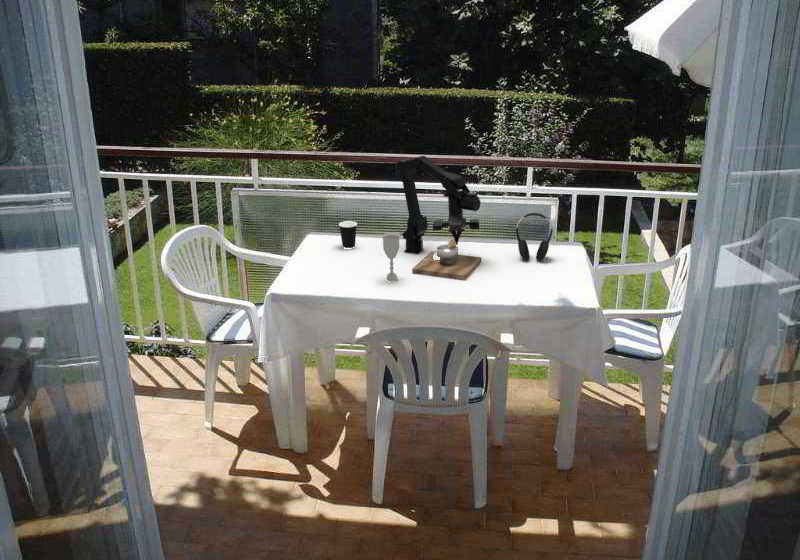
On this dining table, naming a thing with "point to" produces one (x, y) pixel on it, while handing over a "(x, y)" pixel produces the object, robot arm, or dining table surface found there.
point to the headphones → (542, 248)
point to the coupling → (448, 250)
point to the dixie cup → (348, 233)
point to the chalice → (391, 251)
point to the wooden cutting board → (447, 266)
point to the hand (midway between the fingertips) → (456, 244)
